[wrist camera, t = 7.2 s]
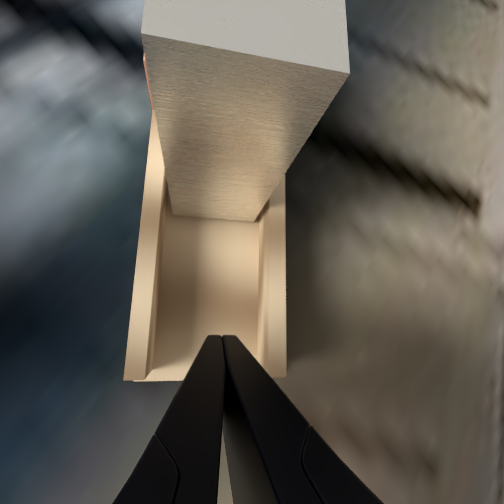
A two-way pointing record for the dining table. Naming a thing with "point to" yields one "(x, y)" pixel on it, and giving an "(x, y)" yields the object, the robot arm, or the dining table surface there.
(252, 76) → the brushed grey block
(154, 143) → the guide channel
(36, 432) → the dining table surface
